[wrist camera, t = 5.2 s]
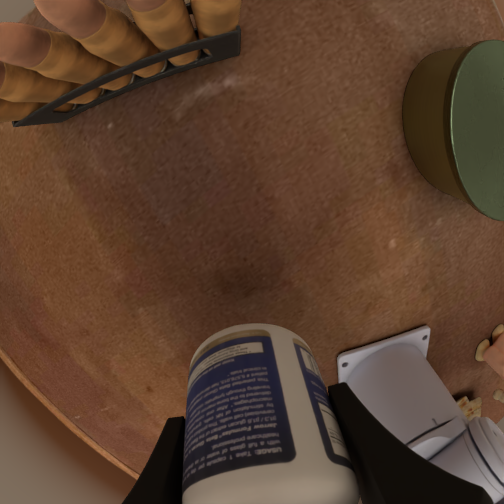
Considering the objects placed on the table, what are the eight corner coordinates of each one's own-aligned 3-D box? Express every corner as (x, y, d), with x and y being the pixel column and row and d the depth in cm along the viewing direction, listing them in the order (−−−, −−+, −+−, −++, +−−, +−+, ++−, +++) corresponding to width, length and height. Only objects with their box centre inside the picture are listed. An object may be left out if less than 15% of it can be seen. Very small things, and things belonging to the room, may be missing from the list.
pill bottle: (177, 393, 14) (165, 595, 5) (209, 303, 12) (208, 584, 3) (282, 413, 15) (319, 590, 6) (333, 334, 13) (426, 548, 4)
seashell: (491, 387, 25) (490, 438, 26) (466, 371, 31) (469, 419, 31) (430, 423, 26) (434, 471, 26) (410, 401, 31) (417, 447, 32)
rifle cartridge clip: (58, 123, 15) (-110, 160, 4) (51, 95, 14) (-117, 104, 3) (240, 55, 15) (279, -58, 4) (231, 25, 14) (252, -116, 3)
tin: (509, 187, 19) (554, 206, 14) (407, 209, 19) (453, 238, 14) (497, 54, 15) (546, 52, 10) (384, 44, 15) (433, 28, 10)
